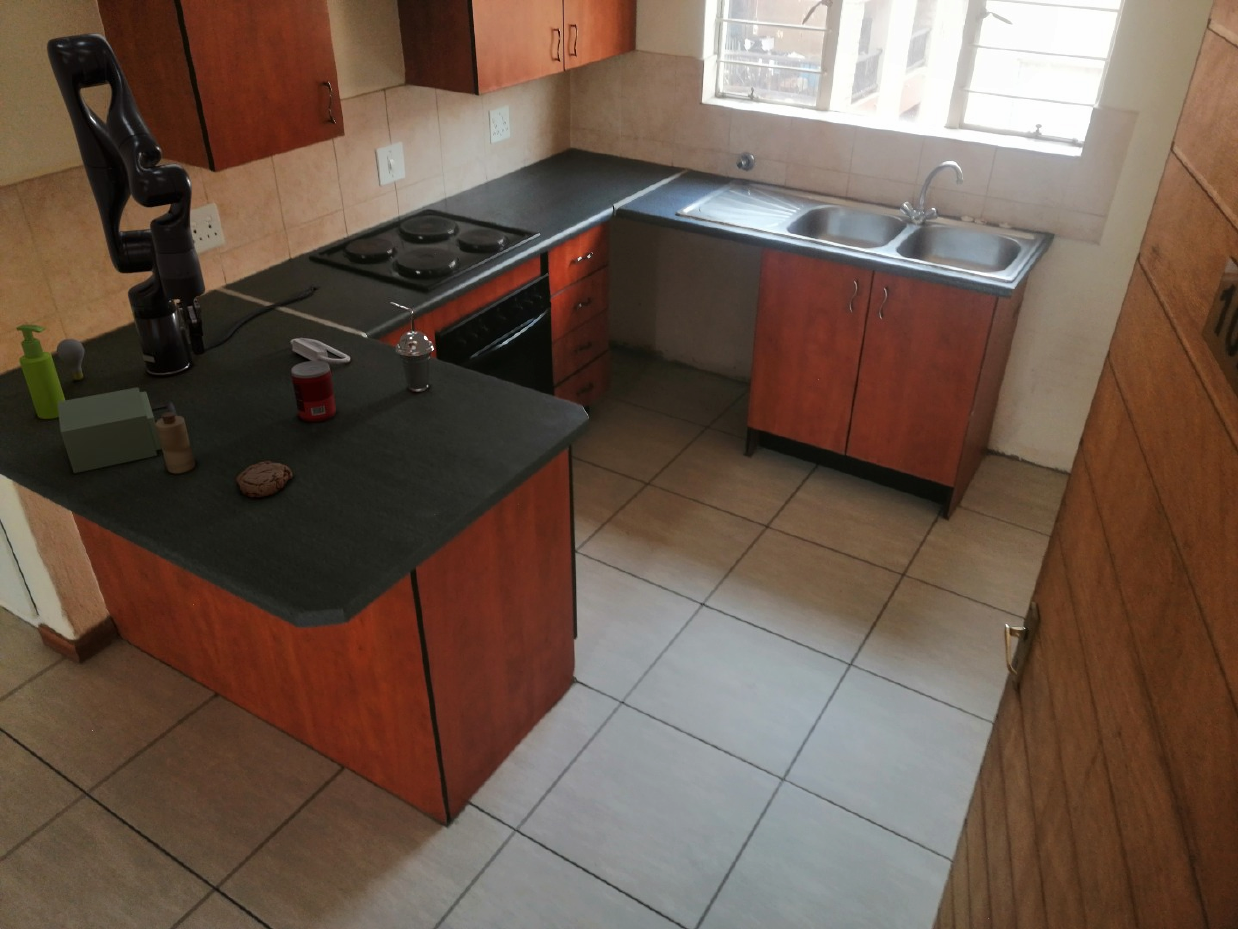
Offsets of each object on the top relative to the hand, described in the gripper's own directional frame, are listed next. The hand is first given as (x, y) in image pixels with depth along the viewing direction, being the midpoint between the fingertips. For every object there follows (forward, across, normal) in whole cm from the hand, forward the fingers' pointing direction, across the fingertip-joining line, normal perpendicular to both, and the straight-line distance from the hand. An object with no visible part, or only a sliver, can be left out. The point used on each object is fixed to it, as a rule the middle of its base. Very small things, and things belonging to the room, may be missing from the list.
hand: (199, 352), depth 191 cm
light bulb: (+17, +38, +24) cm, 48 cm away
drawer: (+15, -2, +16) cm, 22 cm away
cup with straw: (+16, -4, -44) cm, 47 cm away
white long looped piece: (+17, +25, -29) cm, 42 cm away
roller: (+16, -17, +9) cm, 25 cm away
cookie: (+16, -32, -4) cm, 35 cm away
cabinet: (+16, -2, +20) cm, 26 cm away
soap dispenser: (+17, +21, +29) cm, 40 cm away
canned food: (+16, -7, -20) cm, 27 cm away
